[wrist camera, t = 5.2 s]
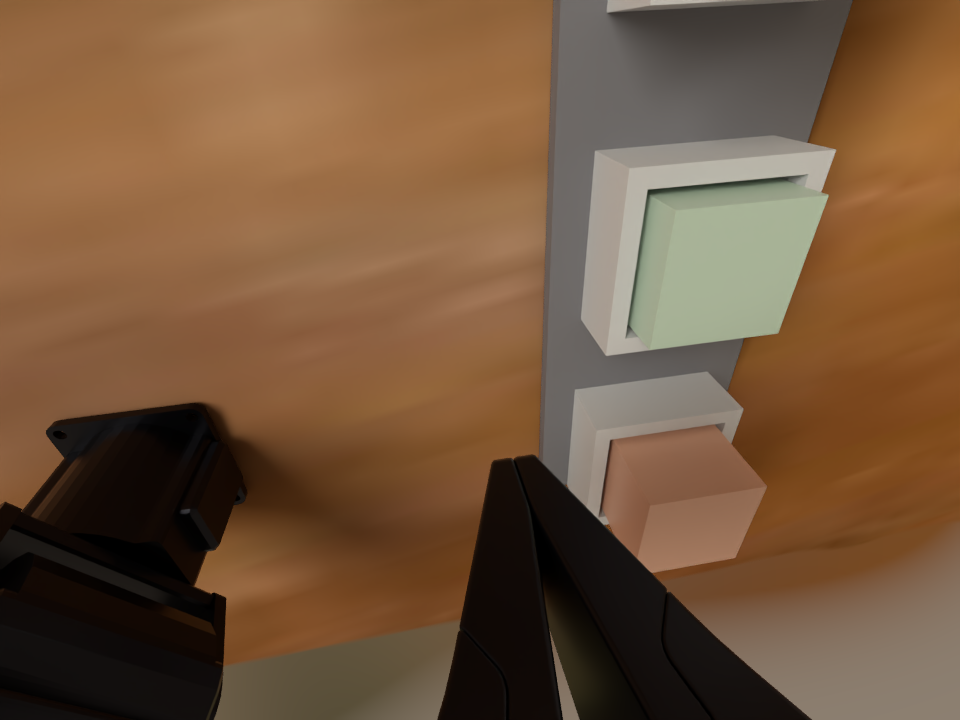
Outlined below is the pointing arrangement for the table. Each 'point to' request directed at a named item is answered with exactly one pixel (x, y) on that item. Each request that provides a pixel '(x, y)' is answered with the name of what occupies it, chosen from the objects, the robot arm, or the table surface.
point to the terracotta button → (680, 497)
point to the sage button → (720, 260)
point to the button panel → (652, 165)
